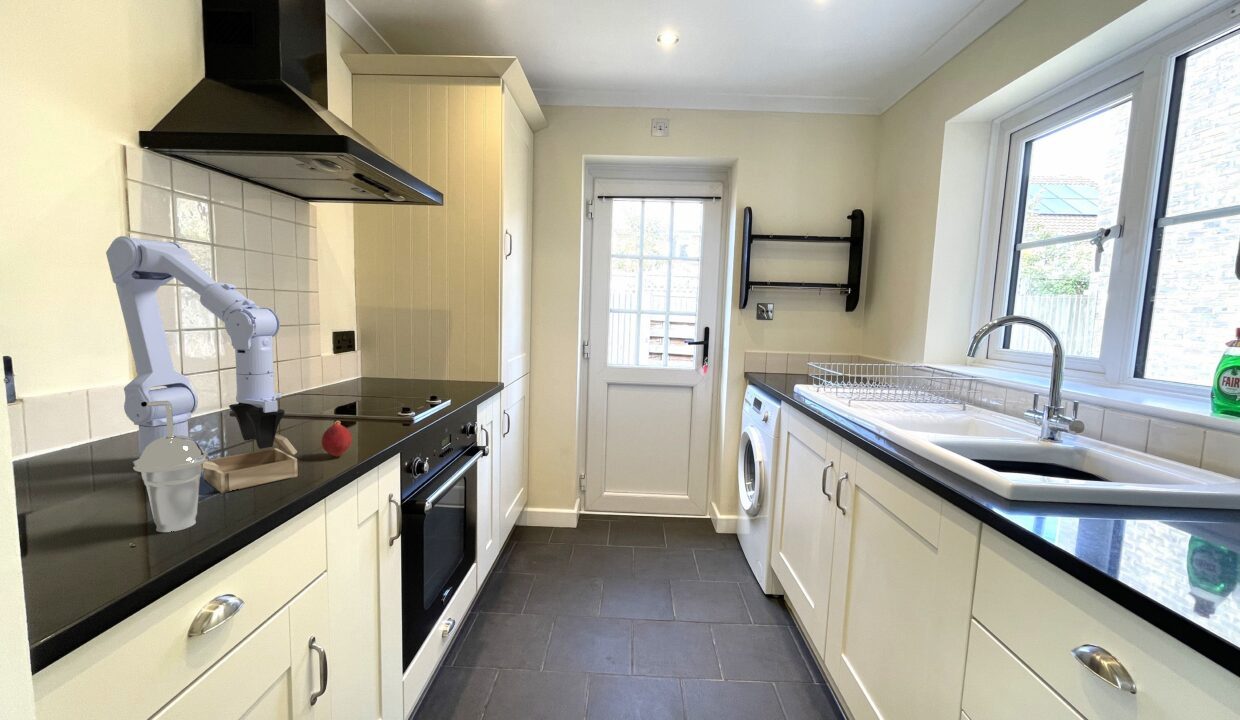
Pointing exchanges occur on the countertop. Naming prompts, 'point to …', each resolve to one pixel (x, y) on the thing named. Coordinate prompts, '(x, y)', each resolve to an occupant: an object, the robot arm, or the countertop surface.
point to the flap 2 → (284, 444)
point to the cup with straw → (172, 476)
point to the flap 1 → (210, 465)
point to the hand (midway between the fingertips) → (257, 443)
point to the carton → (251, 469)
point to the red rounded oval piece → (336, 439)
